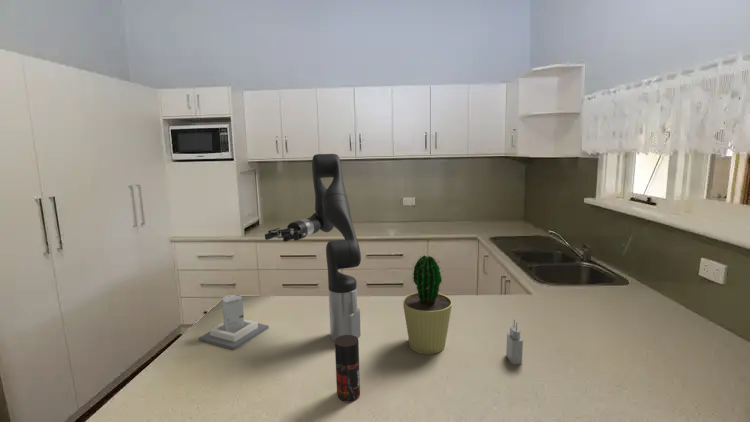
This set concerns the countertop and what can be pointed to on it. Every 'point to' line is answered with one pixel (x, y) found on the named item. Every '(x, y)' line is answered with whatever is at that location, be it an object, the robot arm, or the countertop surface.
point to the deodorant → (347, 368)
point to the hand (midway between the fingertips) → (274, 238)
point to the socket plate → (233, 335)
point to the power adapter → (514, 345)
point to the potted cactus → (427, 309)
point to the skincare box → (233, 313)
